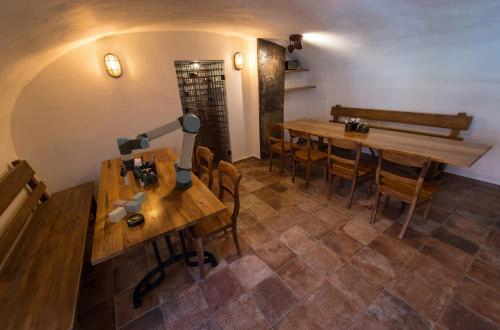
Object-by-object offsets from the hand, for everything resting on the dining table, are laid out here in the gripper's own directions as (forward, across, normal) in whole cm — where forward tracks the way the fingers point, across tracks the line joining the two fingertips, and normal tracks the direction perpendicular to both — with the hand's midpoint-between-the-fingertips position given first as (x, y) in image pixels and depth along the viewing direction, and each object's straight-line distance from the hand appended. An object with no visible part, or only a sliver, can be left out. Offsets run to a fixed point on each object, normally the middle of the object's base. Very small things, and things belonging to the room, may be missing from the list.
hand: (135, 185), depth 155 cm
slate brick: (+15, -4, +11) cm, 19 cm away
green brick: (+15, 0, 0) cm, 15 cm away
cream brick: (+15, 0, +21) cm, 26 cm away
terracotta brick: (+15, +6, +11) cm, 19 cm away
